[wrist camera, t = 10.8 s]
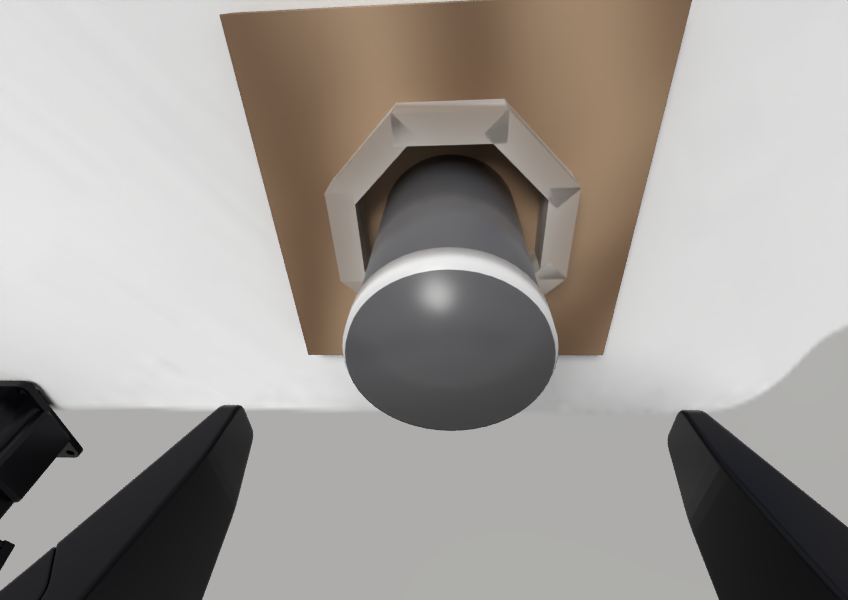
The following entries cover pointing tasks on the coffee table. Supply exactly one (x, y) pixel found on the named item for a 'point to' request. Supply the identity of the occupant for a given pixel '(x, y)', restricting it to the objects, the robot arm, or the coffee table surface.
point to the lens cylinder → (450, 303)
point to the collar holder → (458, 133)
